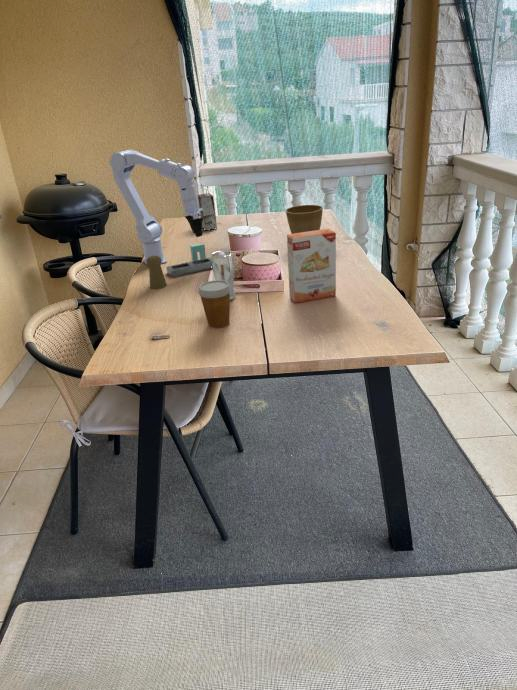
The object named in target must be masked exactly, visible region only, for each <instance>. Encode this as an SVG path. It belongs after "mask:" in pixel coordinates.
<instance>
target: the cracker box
mask: <svg viewBox="0 0 517 690" xmlns="http://www.w3.org/2000/svg"><path fill="white" fill-rule="evenodd" d="M336 240H337V233H336V231H334V230H331V229H330V228H324V229H320V230H315V231H308V232H301V233H294V234H291V233H289V234H286V241H287V264H288V265H287V266H288V286H289V287H288V289H289V298H290V299H291V300H292V301H293V302H294V303H295V304H297V303H303V302H309V301H314V300H321V299H326V298H332V297H335V296H336V295H337V294H336V293H337V291H336V290H337V284H336V283H337V280H336V279H337V277H336V276H337V271H336V270H337V267H336V266H337V261H336V260H337V258H336V257H337V244H336V243H337V241H336Z"/></svg>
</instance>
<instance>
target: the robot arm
mask: <svg viewBox="0 0 517 690" xmlns="http://www.w3.org/2000/svg"><path fill="white" fill-rule="evenodd" d="M170 160H171V159H170V158H162V159H161V160H158V159H156V158H153V157H151V156H148V155H146V154H143V153H141V152H139V151H138V150H133V149H131V148H130V149H129V148H127V149H126V150H123V151H117V152H114V153H112V154H111V156H110V160H109V165H110V167H111V169H112V170H111V171H112V176H113V180H114V181H115V184H116V185H117V187H118V190H119V191H120V192H121V195H122V196H123V198H124V200H125V202H126V204H127V206H128V208H129V209H130V211H131V213H132V215H133V217H134V219H135V221H136V223H135V229H136V232H137V237H138V240H140V241H141V243H142V251H143V256H144V259H142V261H143V262H144V263H145V264H146V265H147V258H148V257H150V256H159V257H160V258H161V261H162V262H161V264H165V263H168V260H167V259H165V257H164V253H163V252H164V251H163V246H162V241H161V240H162V239H161V235H162V234H163V228H162V226H161V224H160V223H159V222H157V220H156V219H155V217H153V216H152V215H150V214H149V212H148V210H147V208H146V206H145V204H144V203H143V201H142V199H141V197H140V195H139V193H138V191H137V190H136V187H135V186H134V184H133V181H132V180H131V178H130V177H131V174H132V171H133V170H134V168H135V167H136V165H140V166H142V167H147V168H150V169H153V170H156V171H157V173H158V174H159V175H161V176H163V177H167V178H169V179H173V180H174V181H175V182H176V184H177V185H178V189H179V192H180V196H181V200H182V206H183V209H184V215H185V216H184V218H185V220H187V222H188V224H189V227H190V228H191V231H192V233H193V234H194V235H195V237H196V238H199V237H203V228H202V221H203V217H199V216H200V212H201V211H203V209H202V208H201V209H199V202H198V194H197V192H196V191H197V190H196V186H195V182H194V177H195V170H194V169H193V167H192V166H190V165H189V164H183V165H182V163H180V162H177V163H176V162H175V161H170Z"/></svg>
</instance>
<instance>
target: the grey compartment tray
mask: <svg viewBox="0 0 517 690" xmlns="http://www.w3.org/2000/svg"><path fill="white" fill-rule="evenodd" d="M211 266H212V257H206V258H205V259H200V258H199V259H198V260H196V261H187V262H183V263H178V264H173V265H169V266H166V273H167V274H168V275H169V276H170V277H171V278H174V277H175V278H176V277H180V276H184V275H188V274H193V273H197V272H201V271H206V270H211V269H212V268H211ZM210 268H211V269H210Z"/></svg>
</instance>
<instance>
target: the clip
mask: <svg viewBox="0 0 517 690" xmlns="http://www.w3.org/2000/svg"><path fill="white" fill-rule="evenodd" d="M189 248H190V253H191V260H192V261H196V260H200V259H205V258H207V256H206V255H207V254H206V247H205V244H204V243H203V242H202V243H201V242H200V243H196V244H191V245H189ZM198 253H199V257H198Z"/></svg>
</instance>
